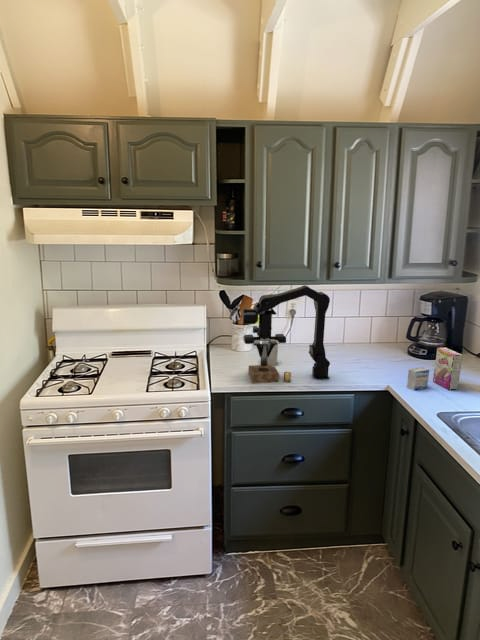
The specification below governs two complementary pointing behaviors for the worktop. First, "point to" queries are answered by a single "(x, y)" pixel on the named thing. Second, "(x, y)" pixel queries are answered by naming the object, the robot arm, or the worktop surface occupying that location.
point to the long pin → (264, 354)
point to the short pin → (287, 377)
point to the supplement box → (272, 354)
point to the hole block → (263, 374)
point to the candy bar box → (447, 368)
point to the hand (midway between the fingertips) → (264, 356)
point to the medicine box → (418, 378)
